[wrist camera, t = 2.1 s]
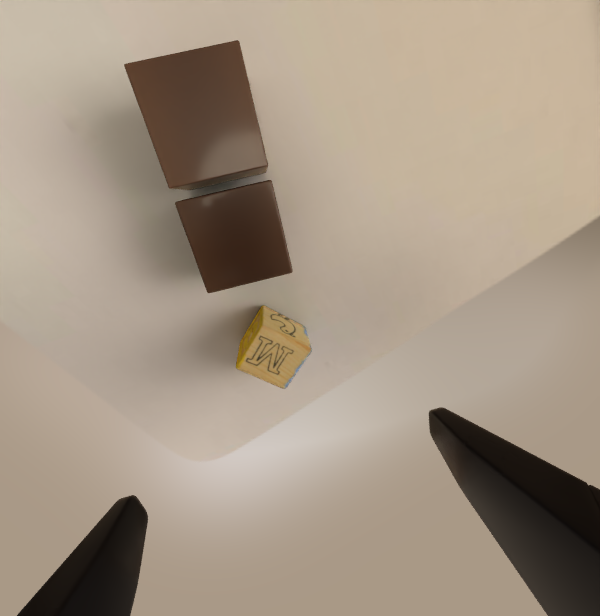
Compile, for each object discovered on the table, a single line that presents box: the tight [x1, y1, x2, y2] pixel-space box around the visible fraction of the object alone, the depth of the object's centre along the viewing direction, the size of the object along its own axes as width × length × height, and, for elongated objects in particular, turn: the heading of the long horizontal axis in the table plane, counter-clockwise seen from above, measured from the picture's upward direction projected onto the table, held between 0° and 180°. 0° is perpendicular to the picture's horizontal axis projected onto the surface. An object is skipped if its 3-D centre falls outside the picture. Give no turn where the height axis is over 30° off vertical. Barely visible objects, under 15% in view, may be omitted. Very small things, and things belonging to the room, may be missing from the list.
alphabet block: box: [236, 305, 312, 389], centre depth 17 cm, size 3×3×3 cm
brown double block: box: [124, 40, 293, 293], centre depth 13 cm, size 4×8×4 cm, turn 12°
